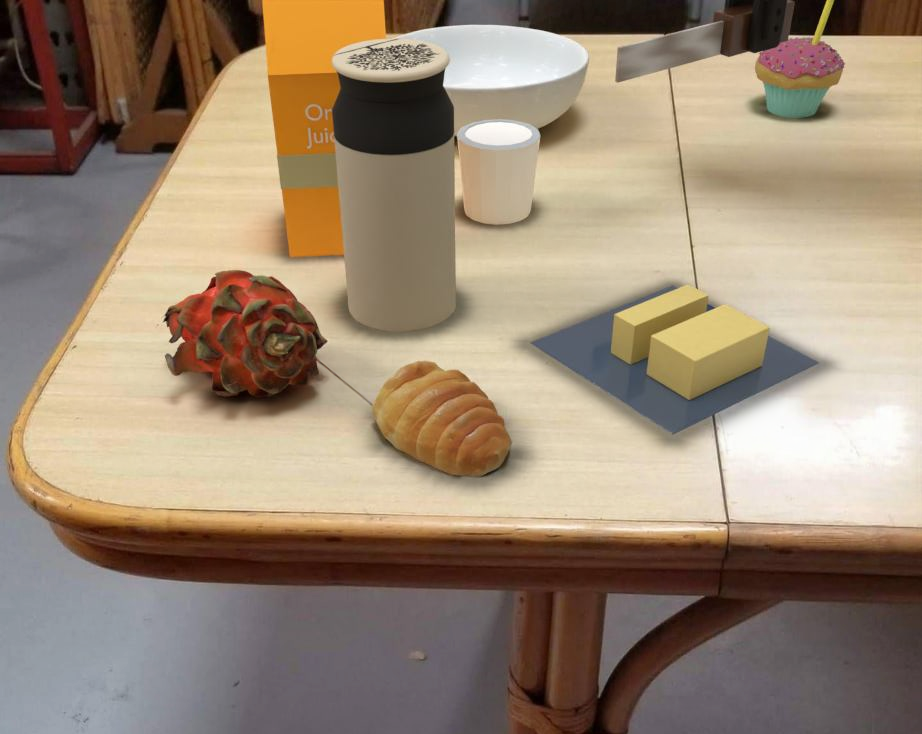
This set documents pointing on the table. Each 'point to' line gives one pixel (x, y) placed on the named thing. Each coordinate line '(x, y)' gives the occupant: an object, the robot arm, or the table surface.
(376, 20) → the orange juice
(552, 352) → the butter dish
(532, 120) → the serving bowl
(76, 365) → the table surface
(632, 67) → the knife
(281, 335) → the dragon fruit
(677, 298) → the butter slice
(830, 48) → the cupcake
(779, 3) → the robot arm
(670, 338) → the butter block
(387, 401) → the pastry
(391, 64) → the travel mug
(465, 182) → the cup of milk
